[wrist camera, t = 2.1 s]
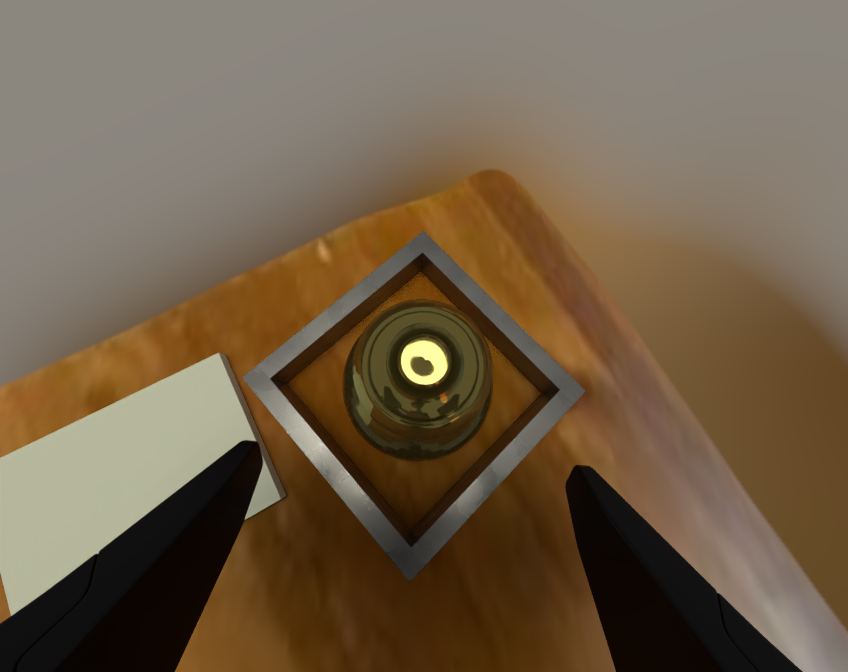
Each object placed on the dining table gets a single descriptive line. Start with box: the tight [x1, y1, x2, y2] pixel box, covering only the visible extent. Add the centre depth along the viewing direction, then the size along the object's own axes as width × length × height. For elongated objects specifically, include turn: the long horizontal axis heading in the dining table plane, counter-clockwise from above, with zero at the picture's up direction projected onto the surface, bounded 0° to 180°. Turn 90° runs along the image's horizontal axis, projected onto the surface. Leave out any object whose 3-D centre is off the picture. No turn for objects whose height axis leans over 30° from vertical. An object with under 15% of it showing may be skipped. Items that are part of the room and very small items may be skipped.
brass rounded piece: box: [342, 299, 493, 462], centre depth 15 cm, size 7×7×10 cm
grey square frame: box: [242, 231, 585, 582], centre depth 19 cm, size 13×13×2 cm
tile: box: [0, 353, 286, 616], centre depth 18 cm, size 13×9×1 cm
